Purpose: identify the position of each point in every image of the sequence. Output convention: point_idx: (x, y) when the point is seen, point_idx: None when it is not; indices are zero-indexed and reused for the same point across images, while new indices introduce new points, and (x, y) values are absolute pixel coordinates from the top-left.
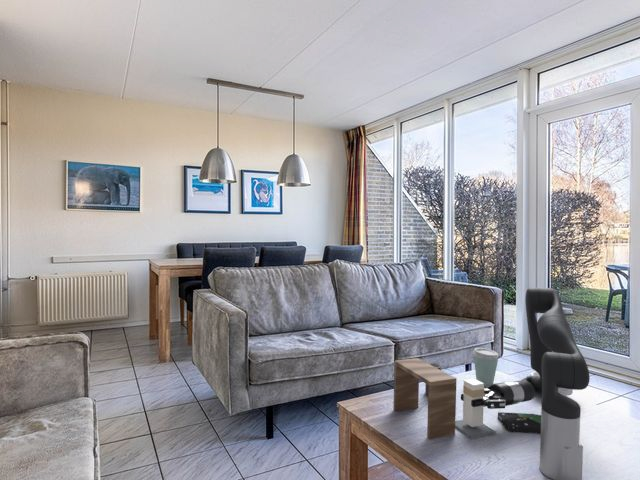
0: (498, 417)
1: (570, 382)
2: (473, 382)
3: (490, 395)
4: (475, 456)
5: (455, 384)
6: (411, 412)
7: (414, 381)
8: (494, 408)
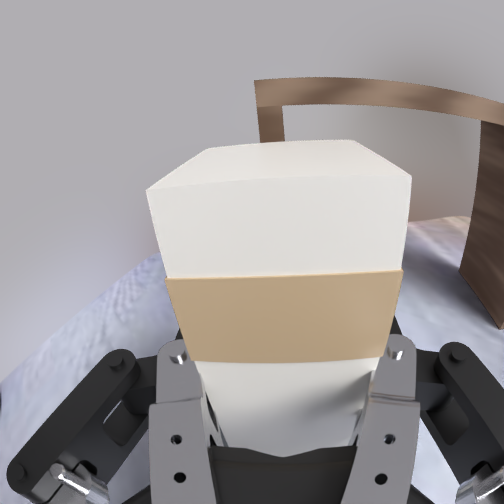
0: None
1: None
2: (261, 151)
3: (152, 449)
4: (140, 326)
5: (258, 117)
6: (460, 302)
7: None
8: (108, 429)
